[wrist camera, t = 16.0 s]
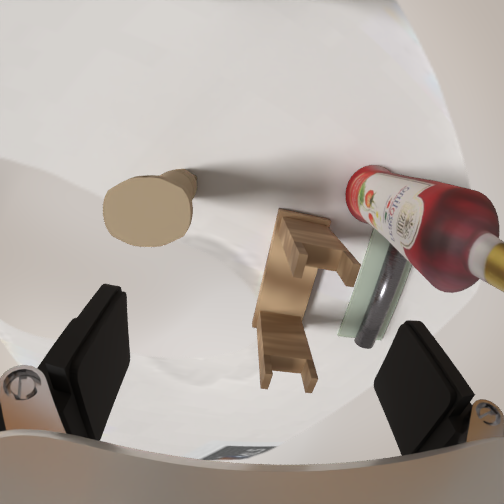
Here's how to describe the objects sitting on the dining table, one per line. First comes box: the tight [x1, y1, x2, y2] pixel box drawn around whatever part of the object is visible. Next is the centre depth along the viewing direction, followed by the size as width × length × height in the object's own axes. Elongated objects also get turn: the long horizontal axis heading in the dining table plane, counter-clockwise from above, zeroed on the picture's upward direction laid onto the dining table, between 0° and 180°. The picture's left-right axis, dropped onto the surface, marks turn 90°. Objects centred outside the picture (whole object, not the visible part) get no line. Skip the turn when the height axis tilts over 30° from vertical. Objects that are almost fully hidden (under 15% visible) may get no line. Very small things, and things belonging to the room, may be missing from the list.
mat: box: [337, 228, 412, 340], centre depth 40 cm, size 16×7×1 cm, turn 169°
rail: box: [354, 243, 407, 349], centre depth 38 cm, size 15×3×3 cm, turn 169°
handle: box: [103, 169, 197, 247], centre depth 28 cm, size 5×6×15 cm
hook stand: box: [252, 208, 361, 393], centre depth 33 cm, size 15×6×13 cm, turn 169°
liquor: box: [346, 165, 504, 293], centre depth 23 cm, size 7×7×28 cm
